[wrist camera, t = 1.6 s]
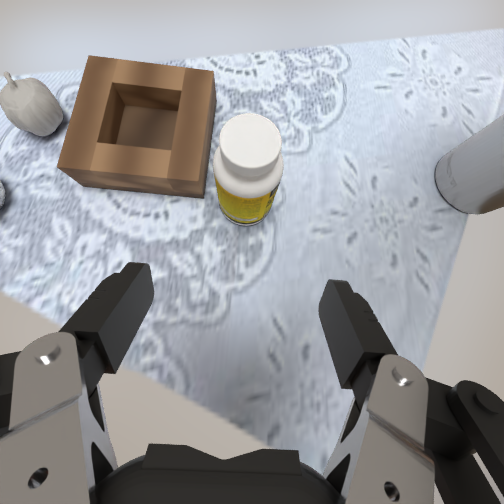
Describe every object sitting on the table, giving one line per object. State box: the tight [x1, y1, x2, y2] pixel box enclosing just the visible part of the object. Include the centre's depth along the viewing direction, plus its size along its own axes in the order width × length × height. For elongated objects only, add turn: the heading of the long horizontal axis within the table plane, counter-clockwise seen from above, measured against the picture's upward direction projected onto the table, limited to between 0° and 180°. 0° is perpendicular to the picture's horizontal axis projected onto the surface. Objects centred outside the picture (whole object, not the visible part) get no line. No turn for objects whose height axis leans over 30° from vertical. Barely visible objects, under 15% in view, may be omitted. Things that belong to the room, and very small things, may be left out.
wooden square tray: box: [57, 56, 217, 198], centre depth 26 cm, size 14×14×4 cm
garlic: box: [0, 72, 63, 136], centre depth 25 cm, size 6×5×5 cm
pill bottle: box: [213, 113, 283, 226], centre depth 22 cm, size 6×6×11 cm
